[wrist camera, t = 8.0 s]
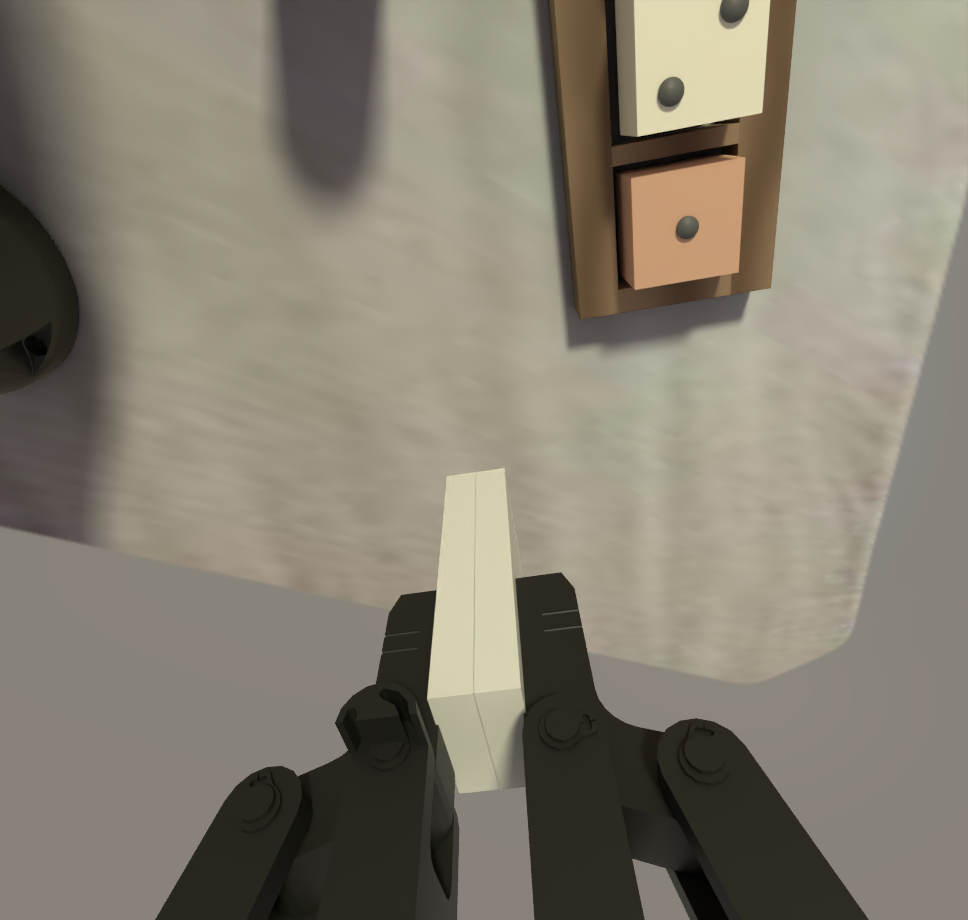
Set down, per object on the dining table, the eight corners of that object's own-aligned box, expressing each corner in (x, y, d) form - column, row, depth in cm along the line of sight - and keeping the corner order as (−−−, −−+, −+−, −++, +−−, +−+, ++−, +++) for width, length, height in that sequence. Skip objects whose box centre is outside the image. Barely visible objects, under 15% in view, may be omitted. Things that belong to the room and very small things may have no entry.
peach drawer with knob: (620, 274, 37) (635, 290, 33) (615, 172, 34) (631, 178, 30) (714, 258, 36) (740, 273, 33) (718, 153, 33) (747, 157, 30)
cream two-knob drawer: (620, 135, 31) (638, 136, 28) (614, -2, 28) (634, -20, 25) (730, 113, 31) (763, 112, 27) (737, -27, 28) (775, -50, 24)
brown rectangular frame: (574, 308, 39) (580, 319, 37) (525, -255, 26) (530, -290, 24) (754, 278, 38) (770, 288, 36) (798, -323, 25) (829, -365, 23)
